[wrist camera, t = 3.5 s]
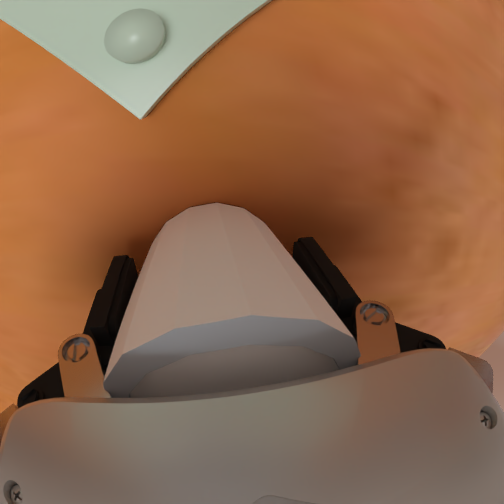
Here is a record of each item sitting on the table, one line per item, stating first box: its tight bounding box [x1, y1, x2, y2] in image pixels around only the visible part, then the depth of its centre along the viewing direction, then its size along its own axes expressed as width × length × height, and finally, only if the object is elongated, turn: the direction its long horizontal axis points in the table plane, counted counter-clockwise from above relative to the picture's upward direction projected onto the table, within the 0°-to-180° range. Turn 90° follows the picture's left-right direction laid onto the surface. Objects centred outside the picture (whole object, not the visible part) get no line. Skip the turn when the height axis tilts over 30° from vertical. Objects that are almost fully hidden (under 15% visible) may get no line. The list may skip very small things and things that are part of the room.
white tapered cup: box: [103, 203, 361, 398], centre depth 9 cm, size 7×7×7 cm
